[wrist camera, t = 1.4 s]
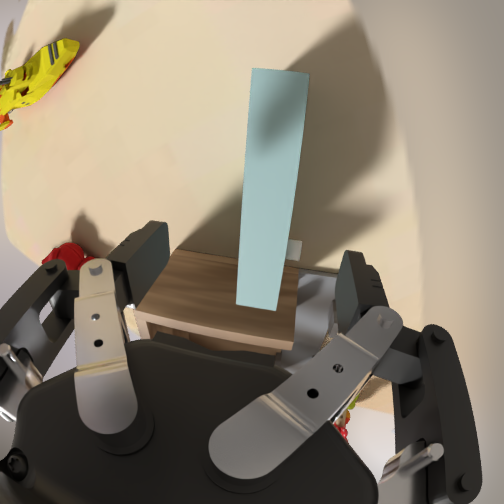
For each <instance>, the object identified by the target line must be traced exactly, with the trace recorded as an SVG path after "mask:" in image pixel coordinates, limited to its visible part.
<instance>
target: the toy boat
mask: <svg viewBox="0 0 504 504" xmlns="http://www.w3.org/2000/svg"><path fill="white" fill-rule="evenodd" d="M79 47H80V44H79V42H78V41H74V40H71V39H67V38H64V39H61V40H59V41H56V42H54V43H51V44H49V45H47V46H44V47H42V48H41V49H40V50H39V51H38V52H37V53H36V54H35V55H34V56H33V57H32V58H30V59H29V60H28V61H27V62H26V63H25V64H24V65H23V66H21V67H18V68H16V69H14V70H11V69H9V70H8V71H7V72H6V73H5V78H4V79H2V81H0V123H1V124H0V131H1V130H4V129H6V128H8V127H9V126H10V125H11V124H12V123H13V121H12V120H9V115H8V113H9V114H10V113H11V112H9V111H11V110H12V111H13V109H16V108H21V107H25V106H30V105H32V104H33V103H35V102H36V101H38V100H40V99H41V98H42V97H43V96H44V95H45V94H46V93H47V92H48V91H49V90H50V89H51V87H52V86H53V85H54V84H55V83H56V82H57V81H58V79H59V78H60V77H61V75H62V74H63V72H64V71H65V70H66V69H67V68H68V67H69V65H70V64H71V62H72V61H73V59H74V58H75V56H76V54H77V51H78V49H79ZM48 69H49V70H48ZM46 72H47V73H46Z"/></svg>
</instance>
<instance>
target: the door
mask: <svg viewBox="0 0 504 504" xmlns="http://www.w3.org/2000/svg"><path fill="white" fill-rule="evenodd" d="M309 76H310V74H308V73H301V72H293V71H284V70H274V69H261V68H252V76H251V88H250V101H249V113H248V127H247V140H246V154H245V168H244V182H243V197H242V212H241V228H240V244H239V261H238V278H237V296H236V304H237V305H243V306H249V307H255V308H261V309H267V310H273V311H276V308H277V302H278V296H279V291H280V285H281V279H282V273H283V267H284V261H285V259H288V260H295V261H299V260H300V255H301V249H302V241H298V240H291V239H288V236H289V230H290V224H291V217H292V210H293V204H294V197H295V190H296V183H297V175H298V168H299V161H300V153H301V145H302V137H303V129H304V121H305V112H306V104H307V95H308V85H309Z"/></svg>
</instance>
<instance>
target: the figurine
mask: <svg viewBox="0 0 504 504" xmlns="http://www.w3.org/2000/svg"><path fill="white" fill-rule="evenodd" d="M53 259H61V260H63V261H64V262H65V264H66V267H67V270H80V269H81V267H82V266H83V265H84V264H85V263H86V262H88V261H90V260H93V259H96V258H94V257H91V256H88V257H86V258H84V252H83V249H82V248H81V247H80V246H79V245H77V244H75V243H65V244H63V245H61V246H60V247H59V248H54V249H53V250H52V251H51V253H50V254H49V255H48V256H47V257H46V258H45V259H43V260H42V264H44V263H46V262H47V261H50V260H53Z"/></svg>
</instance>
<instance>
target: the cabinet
mask: <svg viewBox="0 0 504 504" xmlns="http://www.w3.org/2000/svg"><path fill="white" fill-rule="evenodd" d="M238 261H239V259H236V258H230V257H223V256H217V255H211V254H204V253H198V252H192V251H186V250H180V249H175V250H174V252H173V253H172V254H171V256H170V257H169V261H168V264H167V265H166V267H165V268H164V269H163V271H162V272H161V274H160V275H159V276H158V278H157V279H156V281H155V282H154V284H153V285H152V286H151V288H150V289H149V291H148V292H147V294H146V295H145V296H144V298H143V299H142V301H141V302H140V304H139V305H138V307H137V308H136V309H133V312H134V316H135V319H136V323H137V326H138V330H139V333H140V337H141V339H153V337H154V336H155V334H156V332H157V331H160V332H164V333H167V334H171V335H175V336H179V337H184V338H186V339H188V340H190V341H192V342H194V343H196V344H198V345H201V346H203V347H205V348H207V349H209V350H214V351H239V350H245V351H251V352H257V353H262V354H269V355H275V361H274V365H277V366H279V367H281V368H283V369H285V370H287V371H289V372H290V373H292V374H294V373H295V372H297V371H298V370H299V369H300V368H301V367H302V366H304V365H305V364H306V363H307V362H308V361H309V360H310V359H312V358H313V357H314V356H315V355H316V354H317V353H318V352H319V351H320V348H321V346H322V343H323V340H324V338H325V335H326V333H327V330H329V337H330V338H335V337H336V335H337V333H338V322H337V310H336V300H335V284H336V279H337V276H338V274H333V273H327V272H320V271H314V270H307V269H300V268H294V267H287V266H284V267H283V273H282V279H281V285H280V291H279V296H278V302H277V308H276V311H273V310H267V309H261V308H255V307H249V306H243V305H237V304H236V296H237V278H238Z"/></svg>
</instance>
